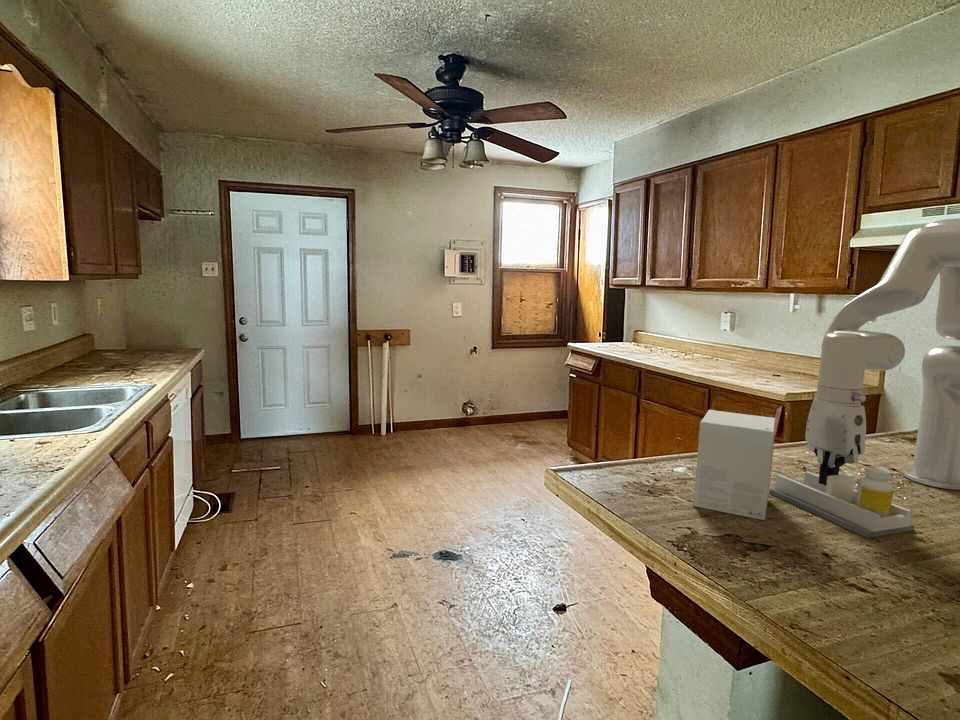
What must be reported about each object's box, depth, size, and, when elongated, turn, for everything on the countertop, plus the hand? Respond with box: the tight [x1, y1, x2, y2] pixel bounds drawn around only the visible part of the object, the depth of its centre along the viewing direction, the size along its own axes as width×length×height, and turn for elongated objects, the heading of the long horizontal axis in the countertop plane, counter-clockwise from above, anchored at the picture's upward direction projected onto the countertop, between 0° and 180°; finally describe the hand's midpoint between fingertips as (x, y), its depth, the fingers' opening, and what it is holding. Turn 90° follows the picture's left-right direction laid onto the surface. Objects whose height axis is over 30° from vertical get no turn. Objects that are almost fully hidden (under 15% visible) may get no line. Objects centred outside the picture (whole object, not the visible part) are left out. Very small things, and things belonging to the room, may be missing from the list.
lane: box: [768, 470, 916, 539], centre depth 115 cm, size 12×22×4 cm, turn 19°
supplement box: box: [692, 409, 776, 521], centre depth 116 cm, size 13×13×18 cm
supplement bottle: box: [855, 465, 894, 517], centre depth 108 cm, size 5×5×10 cm
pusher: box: [826, 472, 856, 504], centre depth 114 cm, size 6×1×6 cm, turn 109°
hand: (827, 484), depth 117 cm, fingers closed
